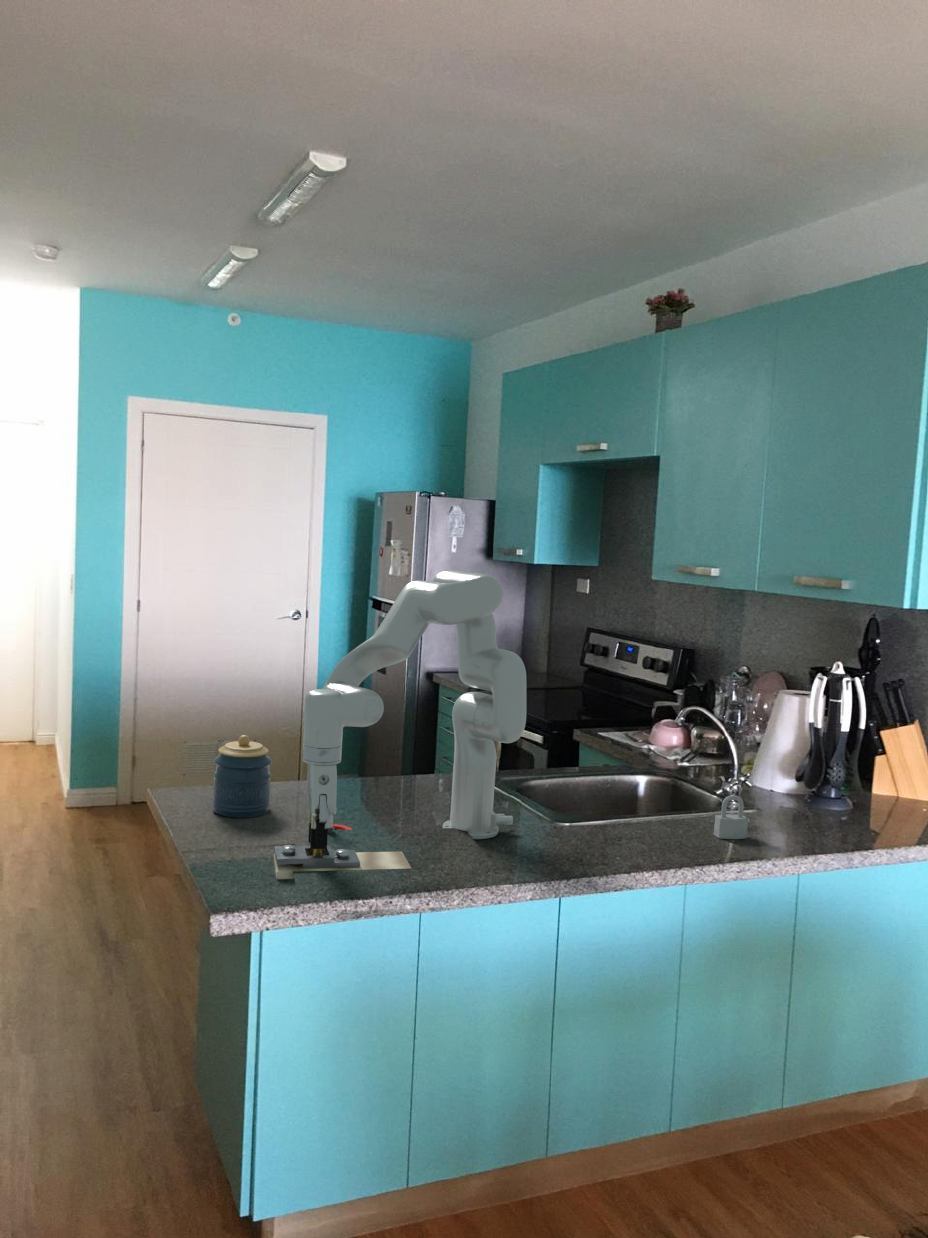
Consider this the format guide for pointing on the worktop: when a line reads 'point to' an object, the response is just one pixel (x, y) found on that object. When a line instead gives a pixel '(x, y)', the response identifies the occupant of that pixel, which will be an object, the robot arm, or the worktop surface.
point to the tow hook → (332, 826)
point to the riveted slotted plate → (316, 857)
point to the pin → (315, 851)
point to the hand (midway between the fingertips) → (317, 844)
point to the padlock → (731, 821)
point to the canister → (242, 779)
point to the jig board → (366, 863)
